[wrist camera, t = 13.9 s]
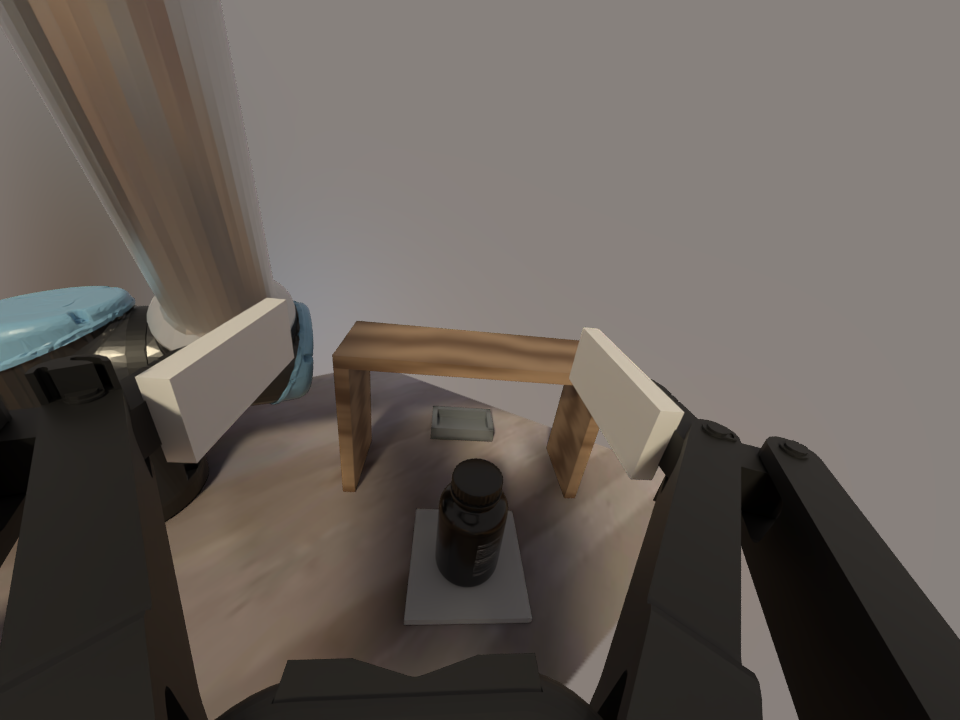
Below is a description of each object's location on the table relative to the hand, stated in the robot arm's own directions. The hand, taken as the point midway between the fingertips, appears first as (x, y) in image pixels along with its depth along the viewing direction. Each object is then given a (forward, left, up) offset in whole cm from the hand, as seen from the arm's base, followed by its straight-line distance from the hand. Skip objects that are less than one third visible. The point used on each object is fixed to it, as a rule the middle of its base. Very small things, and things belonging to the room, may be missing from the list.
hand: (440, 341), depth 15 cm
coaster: (0, +10, -30) cm, 32 cm away
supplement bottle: (0, +10, -29) cm, 31 cm away
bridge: (-7, +22, -30) cm, 38 cm away
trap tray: (-12, +30, -30) cm, 44 cm away
